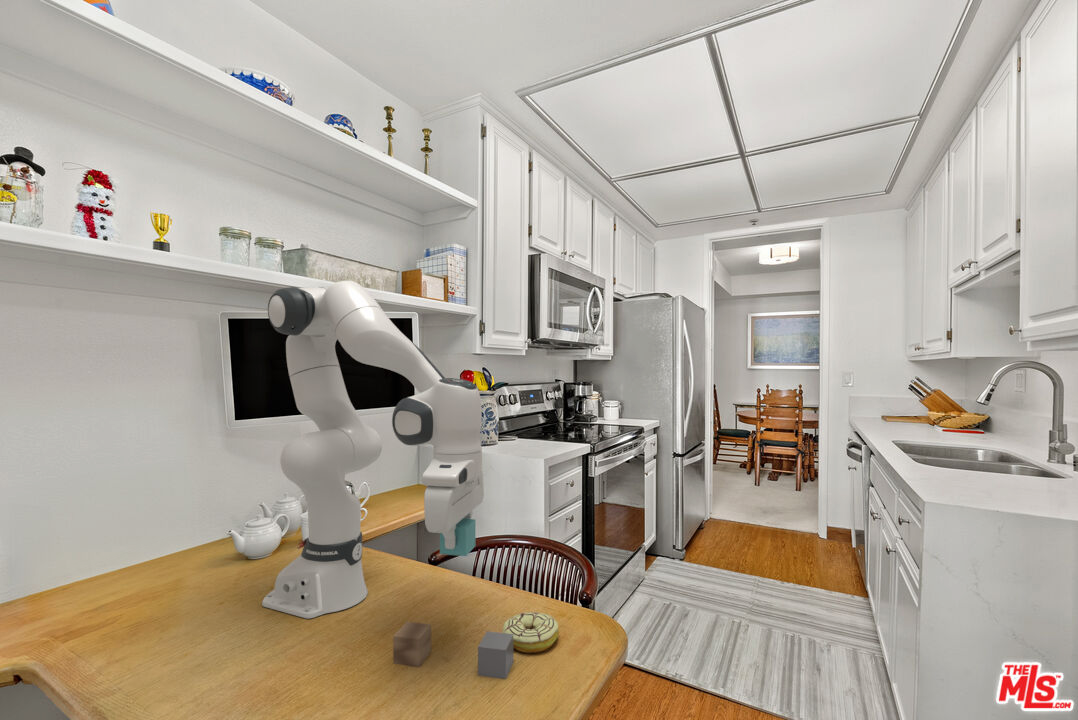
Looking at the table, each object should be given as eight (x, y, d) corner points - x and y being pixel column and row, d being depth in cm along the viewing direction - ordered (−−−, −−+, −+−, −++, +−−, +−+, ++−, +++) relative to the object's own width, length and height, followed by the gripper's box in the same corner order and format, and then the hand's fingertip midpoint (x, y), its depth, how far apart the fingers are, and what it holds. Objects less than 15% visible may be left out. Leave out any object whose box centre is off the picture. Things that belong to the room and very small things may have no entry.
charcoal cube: (478, 675, 83) (478, 646, 83) (486, 658, 88) (486, 631, 88) (506, 679, 82) (505, 650, 82) (513, 662, 87) (513, 634, 87)
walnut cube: (393, 664, 87) (393, 636, 87) (406, 648, 92) (406, 621, 92) (419, 667, 86) (419, 639, 86) (431, 651, 90) (431, 624, 91)
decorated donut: (518, 621, 101) (518, 603, 101) (566, 633, 97) (566, 614, 97) (493, 647, 92) (493, 627, 92) (544, 662, 87) (544, 641, 87)
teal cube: (439, 554, 87) (439, 526, 87) (450, 544, 92) (450, 517, 92) (466, 556, 86) (466, 528, 86) (475, 545, 91) (475, 519, 91)
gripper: (462, 455, 100) (462, 522, 100) (417, 477, 80) (417, 561, 80) (491, 456, 99) (491, 524, 99) (453, 479, 79) (453, 564, 79)
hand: (457, 541), depth 89 cm, fingers closed on teal cube, 5 cm apart
